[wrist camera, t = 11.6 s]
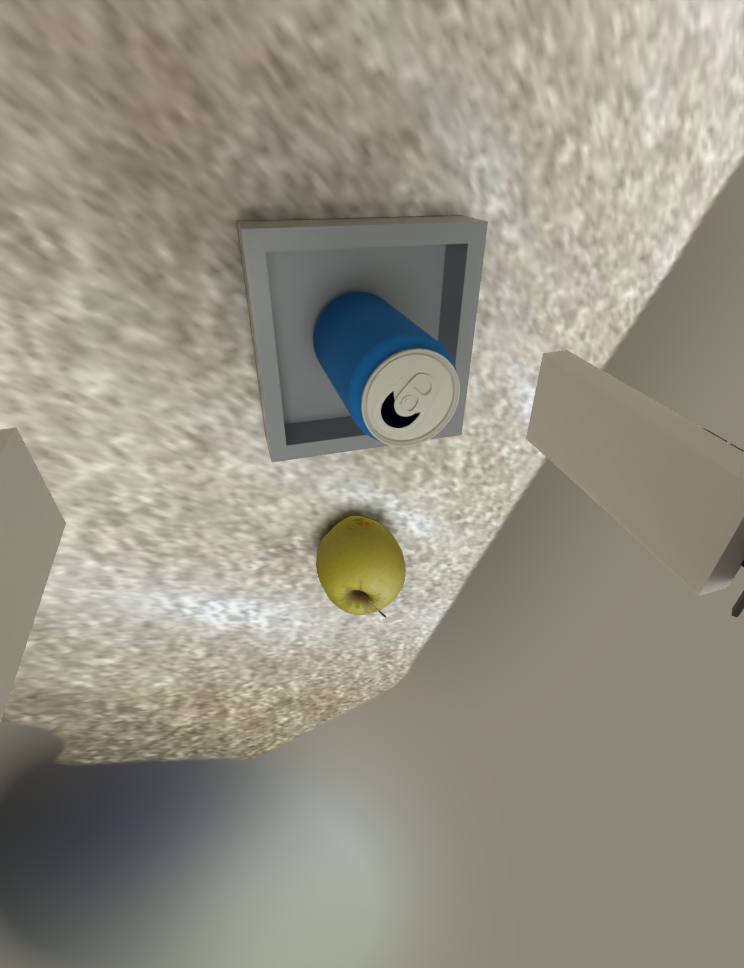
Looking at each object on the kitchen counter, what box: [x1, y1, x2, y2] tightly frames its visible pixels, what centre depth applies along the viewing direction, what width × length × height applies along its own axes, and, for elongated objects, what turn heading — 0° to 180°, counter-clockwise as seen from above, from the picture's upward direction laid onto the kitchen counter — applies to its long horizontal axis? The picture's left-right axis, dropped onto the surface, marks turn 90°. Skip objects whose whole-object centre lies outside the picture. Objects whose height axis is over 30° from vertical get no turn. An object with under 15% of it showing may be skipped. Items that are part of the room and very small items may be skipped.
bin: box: [236, 215, 488, 462], centre depth 34 cm, size 15×15×4 cm
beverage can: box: [313, 292, 460, 447], centre depth 31 cm, size 6×6×12 cm
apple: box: [316, 516, 406, 617], centre depth 43 cm, size 8×8×10 cm
